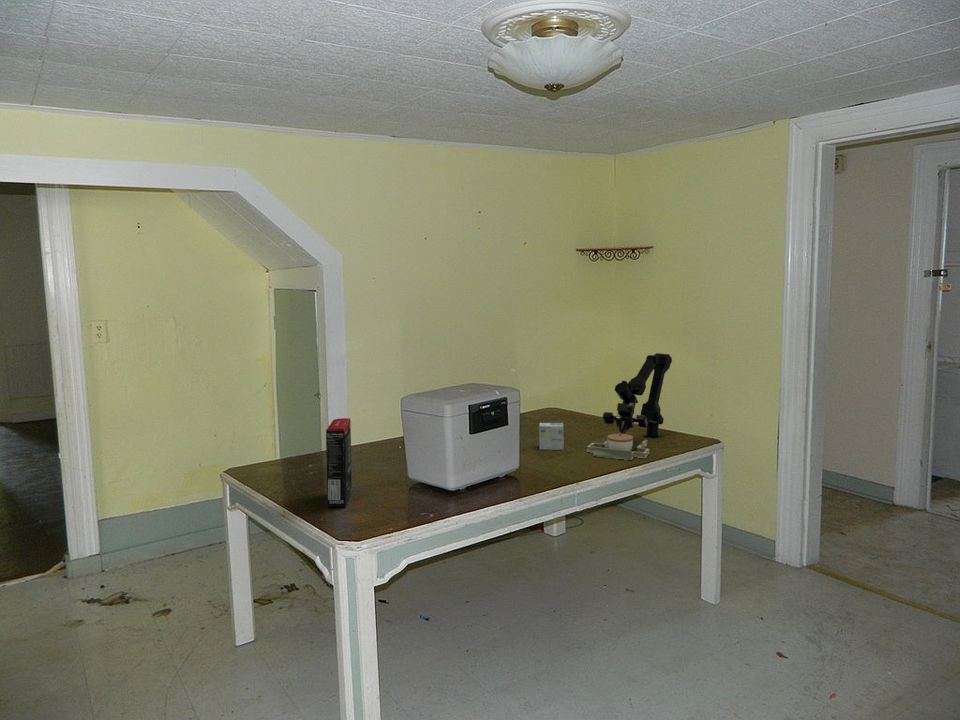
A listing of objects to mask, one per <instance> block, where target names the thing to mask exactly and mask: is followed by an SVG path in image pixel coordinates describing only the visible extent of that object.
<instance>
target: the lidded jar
mask: <svg viewBox="0 0 960 720" xmlns="http://www.w3.org/2000/svg"><path fill="white" fill-rule="evenodd" d="M606 439H607V440H608V447H607V448H610V449H619V450H628V451H632V448H633V443H634V436H633V435H631V434H627V433H625V434H622V433H620V432H618V433H612V434H607V438H606Z"/></svg>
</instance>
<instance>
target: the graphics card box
mask: <svg viewBox="0 0 960 720" xmlns="http://www.w3.org/2000/svg"><path fill="white" fill-rule="evenodd" d="M351 422H352V420H351V418H347V417H346V418H344V417H343V418H335V419H333V420H332V421H331V422H330V424H329V426H328V427H327V428H326V430H325V441H326V442H325V444H326V445H325V447H326V449H325V451H326V455H325V456H326V495H327V497H326V499H327V500H326V501H327V503H326V505H327V506H326V507H327V508H346V507H347V505H348V503H349V500H350V497H351V495H352V492H353V490H352V431H351V430H352V429H351V428H352V426H351Z"/></svg>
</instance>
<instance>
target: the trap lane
mask: <svg viewBox="0 0 960 720" xmlns="http://www.w3.org/2000/svg"><path fill="white" fill-rule="evenodd" d="M647 446H648V439H644V440H643V441H642V442H641V443H640V444H639V445H637V447H635V451H632V450H631V451H628V450H619V449H610V448H608V439H607V440H605V441H604V442H603V443H600V442H592V443H590V444H588V445H587V446H586V453H587V452H590V453H589V454H592V455H593V456H596V457H595V458H601V457H605V458H604V459H610V458H615V459H614V460H618V459H624V460H623V461H627V460H632V459H633V458H634V457H638V458H637V459H639V458H646V457H647V456H648V455H649V454H650V448H646V447H647ZM606 447H607V448H606ZM650 455H651V454H650ZM650 455H649V456H650ZM593 456H592V457H593ZM649 456H648V457H649ZM648 457H647V458H648ZM647 458H646V459H647ZM634 459H635V458H634ZM632 461H633V460H632Z"/></svg>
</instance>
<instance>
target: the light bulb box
mask: <svg viewBox="0 0 960 720" xmlns="http://www.w3.org/2000/svg"><path fill="white" fill-rule="evenodd" d="M538 432H539V433H538V435H539V439H538V440H539V450H542V451H543V450H548V451H549V450H551V451H552V450H555V451H556V450H557V451H559V450H562V451H564V446H565V443H564V441H565V439H564V434H565V433H564V432H565V431H564V422H539V430H538Z"/></svg>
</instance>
